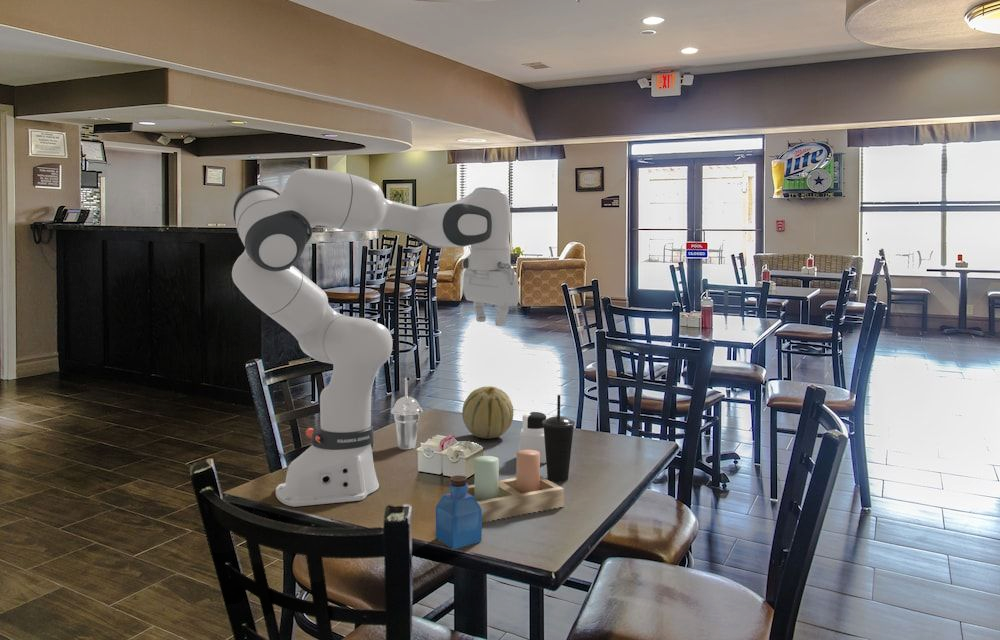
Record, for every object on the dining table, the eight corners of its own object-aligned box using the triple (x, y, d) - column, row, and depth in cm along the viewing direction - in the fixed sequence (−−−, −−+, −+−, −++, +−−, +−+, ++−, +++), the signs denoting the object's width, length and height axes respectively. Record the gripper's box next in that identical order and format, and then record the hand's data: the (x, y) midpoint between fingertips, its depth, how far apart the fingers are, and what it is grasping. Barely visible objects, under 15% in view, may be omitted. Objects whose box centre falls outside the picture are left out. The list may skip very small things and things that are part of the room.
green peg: (481, 516, 153) (481, 464, 152) (470, 509, 158) (470, 457, 156) (502, 512, 156) (503, 460, 154) (491, 505, 160) (491, 454, 159)
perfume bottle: (453, 549, 137) (453, 485, 136) (435, 538, 142) (435, 476, 141) (481, 541, 141) (481, 479, 140) (463, 531, 146) (463, 470, 145)
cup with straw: (427, 444, 207) (427, 372, 204) (415, 453, 198) (415, 378, 196) (398, 441, 209) (397, 370, 207) (385, 450, 200) (384, 376, 198)
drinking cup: (565, 472, 183) (566, 390, 180) (579, 481, 176) (581, 397, 173) (536, 475, 180) (537, 393, 178) (549, 485, 173) (550, 399, 171)
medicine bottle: (548, 455, 196) (549, 410, 195) (547, 464, 189) (548, 417, 188) (521, 454, 197) (521, 409, 196) (519, 463, 190) (519, 416, 189)
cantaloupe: (489, 428, 224) (489, 378, 222) (524, 438, 213) (524, 385, 212) (450, 437, 214) (450, 385, 212) (485, 447, 203) (485, 393, 202)
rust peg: (543, 504, 160) (544, 454, 159) (523, 508, 158) (523, 457, 157) (531, 497, 165) (532, 448, 164) (511, 501, 162) (512, 451, 161)
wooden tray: (474, 524, 149) (474, 504, 149) (451, 506, 159) (451, 488, 158) (563, 507, 159) (564, 488, 159) (536, 491, 169) (537, 474, 168)
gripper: (526, 263, 161) (525, 327, 162) (482, 260, 178) (482, 318, 180) (500, 263, 158) (499, 329, 159) (458, 260, 175) (458, 320, 177)
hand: (490, 323), depth 170 cm, fingers open, 8 cm apart
